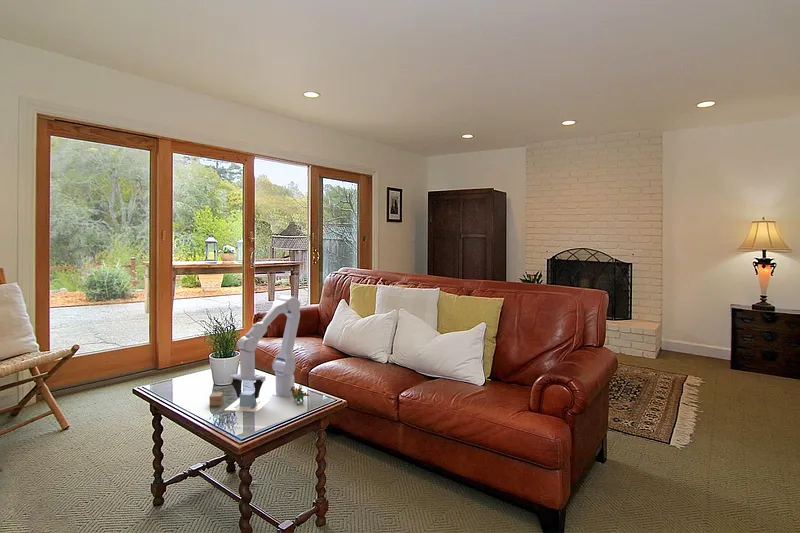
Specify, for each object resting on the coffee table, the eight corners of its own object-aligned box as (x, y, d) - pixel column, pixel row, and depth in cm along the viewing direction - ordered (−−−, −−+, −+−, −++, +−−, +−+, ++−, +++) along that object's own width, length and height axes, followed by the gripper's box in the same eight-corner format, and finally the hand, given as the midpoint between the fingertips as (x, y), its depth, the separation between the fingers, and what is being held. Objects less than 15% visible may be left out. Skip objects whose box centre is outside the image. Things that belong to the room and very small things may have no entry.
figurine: (293, 399, 193) (292, 381, 192) (312, 405, 186) (312, 386, 185) (287, 401, 190) (287, 383, 190) (307, 408, 183) (307, 388, 183)
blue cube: (245, 401, 189) (244, 390, 188) (256, 402, 188) (256, 390, 188) (239, 406, 184) (239, 394, 183) (251, 406, 183) (251, 395, 183)
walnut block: (212, 403, 188) (211, 392, 188) (223, 402, 189) (223, 392, 189) (209, 407, 184) (209, 396, 184) (221, 406, 185) (220, 395, 185)
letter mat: (239, 398, 194) (239, 397, 194) (270, 399, 192) (270, 398, 192) (224, 411, 180) (224, 410, 180) (257, 412, 178) (257, 411, 178)
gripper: (226, 367, 182) (226, 400, 182) (260, 368, 180) (260, 401, 181) (234, 362, 189) (234, 394, 189) (267, 363, 187) (267, 395, 188)
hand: (248, 397), depth 186 cm, fingers open, 7 cm apart
